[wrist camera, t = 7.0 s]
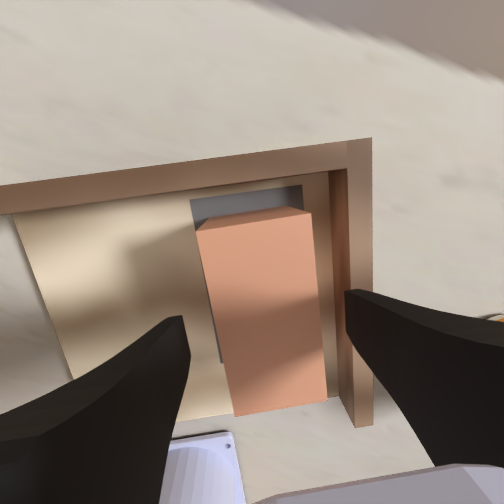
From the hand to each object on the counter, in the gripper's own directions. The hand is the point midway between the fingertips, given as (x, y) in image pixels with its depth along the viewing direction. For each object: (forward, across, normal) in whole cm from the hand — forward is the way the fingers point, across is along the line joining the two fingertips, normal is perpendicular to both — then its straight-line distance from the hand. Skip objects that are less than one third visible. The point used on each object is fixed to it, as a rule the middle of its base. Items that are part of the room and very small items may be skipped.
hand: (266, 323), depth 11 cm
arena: (+6, +3, +1) cm, 7 cm away
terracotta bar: (+5, 0, 0) cm, 5 cm away
